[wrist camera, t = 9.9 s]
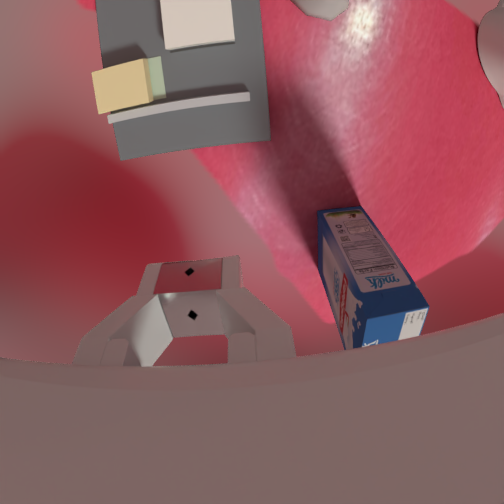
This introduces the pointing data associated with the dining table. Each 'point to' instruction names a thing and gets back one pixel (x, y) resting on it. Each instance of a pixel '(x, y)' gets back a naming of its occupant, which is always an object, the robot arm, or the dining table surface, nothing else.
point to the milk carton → (366, 281)
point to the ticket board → (188, 72)
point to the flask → (322, 8)
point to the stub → (122, 86)
